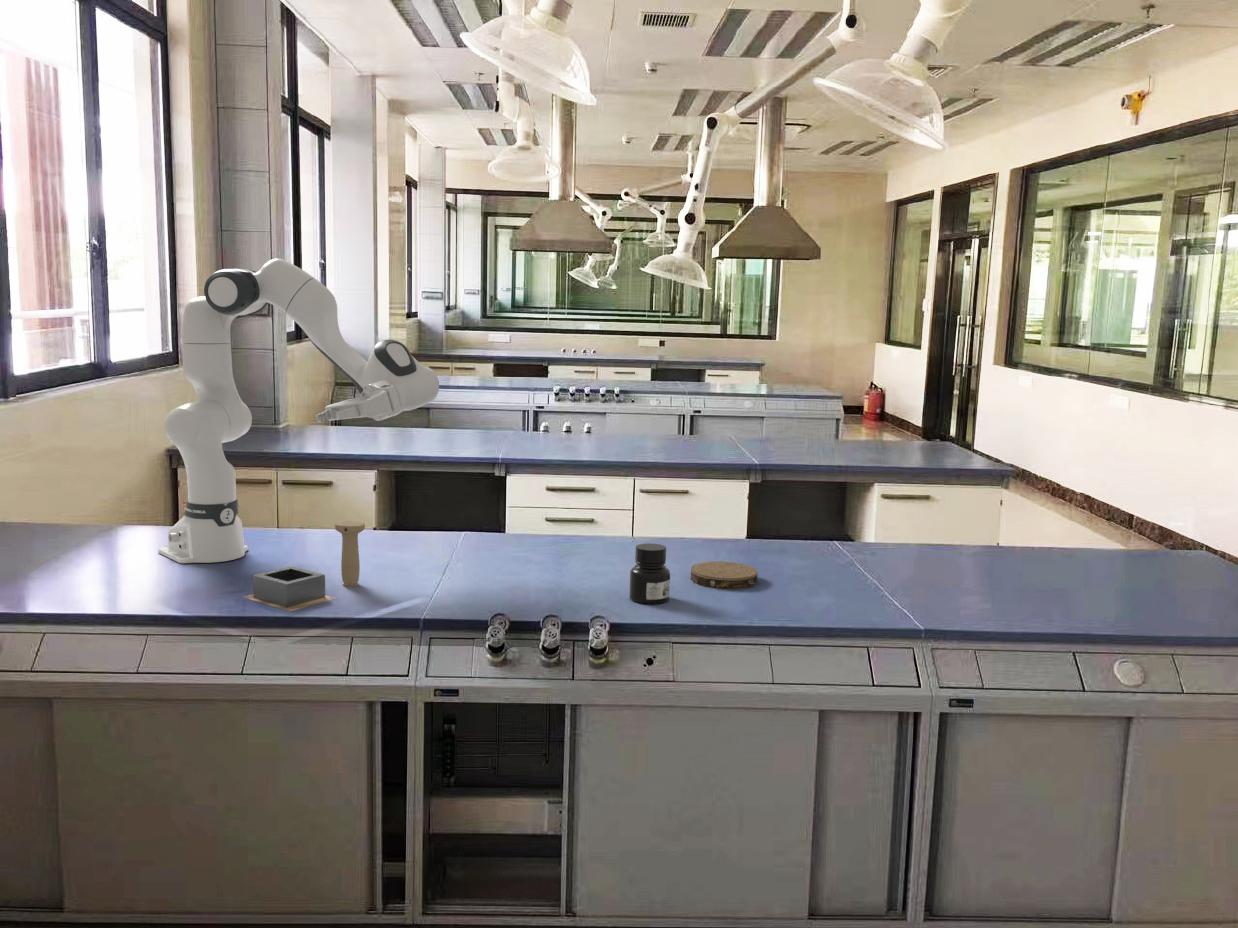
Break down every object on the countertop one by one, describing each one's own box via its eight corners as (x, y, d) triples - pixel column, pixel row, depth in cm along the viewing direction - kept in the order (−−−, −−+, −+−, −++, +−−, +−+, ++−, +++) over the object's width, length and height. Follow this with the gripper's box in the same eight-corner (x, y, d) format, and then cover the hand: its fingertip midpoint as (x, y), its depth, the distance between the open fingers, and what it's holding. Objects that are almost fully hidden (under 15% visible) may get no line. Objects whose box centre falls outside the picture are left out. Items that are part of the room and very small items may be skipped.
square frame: (253, 597, 223) (253, 575, 222) (292, 588, 231) (291, 566, 230) (286, 607, 217) (286, 584, 216) (325, 597, 225) (324, 574, 224)
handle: (360, 592, 232) (359, 526, 230) (332, 591, 233) (331, 525, 231) (368, 587, 237) (367, 522, 235) (341, 585, 238) (340, 520, 236)
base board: (242, 601, 224) (242, 596, 224) (289, 589, 234) (288, 585, 233) (290, 615, 215) (290, 611, 215) (336, 602, 225) (336, 598, 224)
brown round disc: (700, 570, 261) (700, 558, 261) (763, 577, 256) (763, 565, 256) (682, 585, 247) (683, 573, 246) (749, 593, 241) (749, 581, 241)
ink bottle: (655, 607, 227) (657, 554, 226) (621, 600, 232) (622, 548, 230) (677, 597, 236) (679, 545, 234) (643, 591, 240) (645, 540, 238)
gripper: (353, 391, 253) (302, 406, 244) (397, 384, 238) (344, 401, 229) (361, 416, 254) (310, 432, 245) (404, 411, 239) (352, 428, 230)
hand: (327, 417), depth 237 cm, fingers open, 8 cm apart
